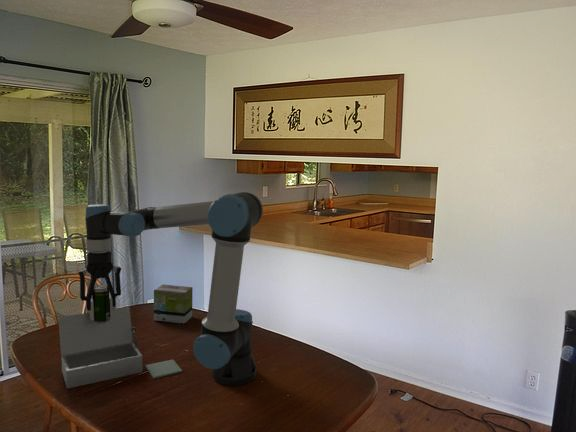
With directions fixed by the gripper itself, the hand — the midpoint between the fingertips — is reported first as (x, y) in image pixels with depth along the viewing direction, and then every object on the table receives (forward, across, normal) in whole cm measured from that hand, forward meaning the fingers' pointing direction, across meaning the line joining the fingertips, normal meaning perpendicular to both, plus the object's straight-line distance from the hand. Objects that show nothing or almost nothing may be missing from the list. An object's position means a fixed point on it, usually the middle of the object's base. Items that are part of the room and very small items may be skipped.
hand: (101, 317), depth 159 cm
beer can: (+1, 0, 0) cm, 1 cm away
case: (+20, 0, -3) cm, 20 cm away
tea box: (+20, -38, -39) cm, 58 cm away
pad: (+20, -19, +8) cm, 28 cm away
